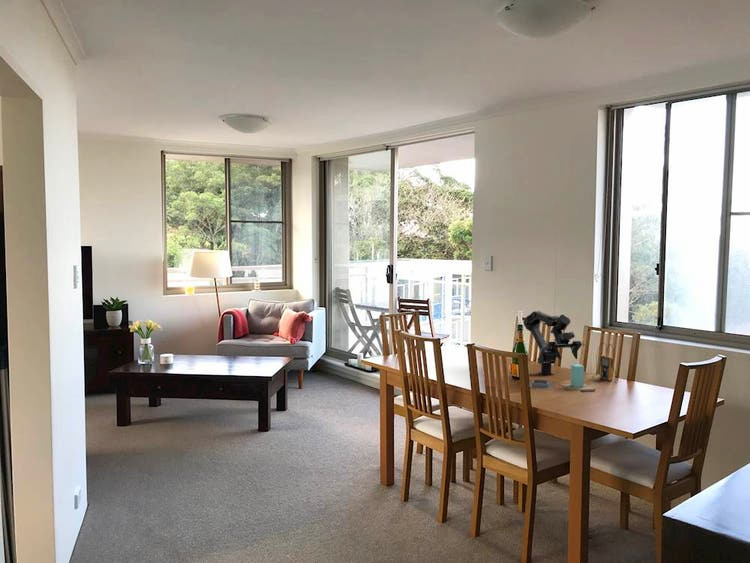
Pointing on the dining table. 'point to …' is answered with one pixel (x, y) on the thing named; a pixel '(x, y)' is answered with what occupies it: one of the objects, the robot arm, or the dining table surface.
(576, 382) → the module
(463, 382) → the dining table surface
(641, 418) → the dining table surface
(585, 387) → the board
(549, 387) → the case base
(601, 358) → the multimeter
